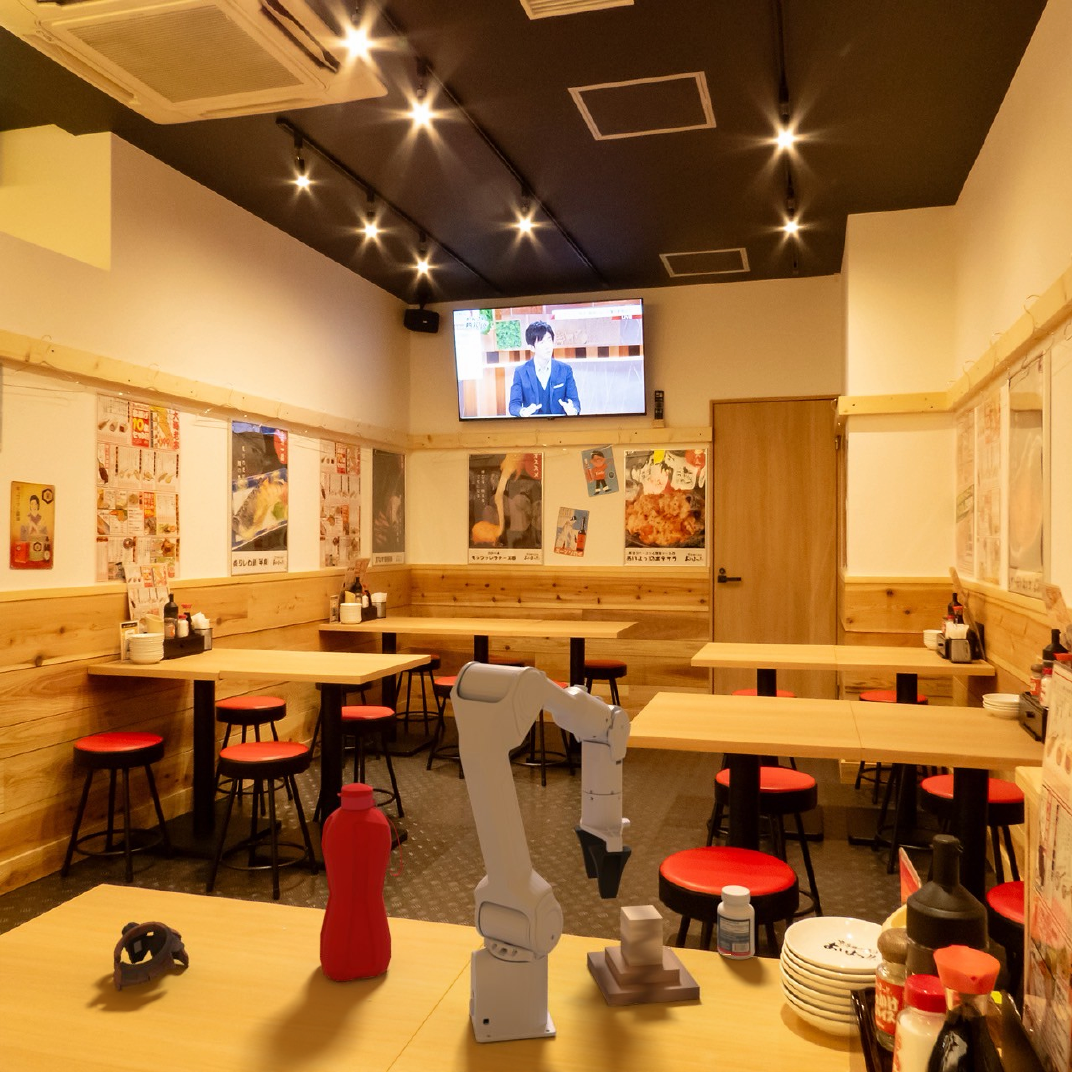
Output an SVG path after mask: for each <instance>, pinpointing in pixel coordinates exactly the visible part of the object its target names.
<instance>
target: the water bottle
mask: <svg viewBox="0 0 1072 1072" xmlns="http://www.w3.org/2000/svg"><path fill="white" fill-rule="evenodd" d="M340 788H341V792H340V793H337V796H338V797H340V798H341V799H340V802H341V804H340V807H338V808H337V809H335V810H334V811H332V812H331V814H329V816H328V817H327V818H326V820H325V822H324V824H323V826H322V827H323V829H322V835H321V836H322V837H321V843H320V844H321V850H322V855H323V859H324V866H325V871H326V881H327V886H328V893H329V894H328V899H327V902H326V908H325V910H324V911H325V912H324V916H323V920H322V924H321V929H320V933H319V961H320V965H321V969H322V973H323V974H324V975H325V976H326V977H328V979H330V980H332V981H336V982H341V983H343V982H344V983H345V982H350V981H355V980H358V979H368V978H375V977H379V976H380V975H381V974H383V973H384V972H386V971H387V970H388V969H389V965H390V962H391V959H392V936H391V931H390V926H389V921H388V916H387V910H386V904H385V898H384V893H383V892H384V885H385V879H386V874H387V868H388V869H389V873H390V874H391V875H392V876H394V877H397V876H399V875H401V872H402V869H403V855H402V849H401V844H400V840H399V835H398V833H397V829H396V827H395V825H394V823H393V822H392V821H391V820H390V819H389V818H388V816H387V814H386V812H384V811H383V810H382V809H380V808H379V806H378V804H377V802H378V800H377V798H374V788H373V786H371V785H368V784H365V783H361V782H353V783H348V784H345V785H342V787H340ZM389 822H390V823H391V824H392V826H393V828H394V831H395V834H396V837H397V841H398V845H399V853H400V859H401V860H400V861H401V862H400V869H399V872H398V873H396V874H395V873H394V874H393V873H392V871H391V864H390V863H391V862H390V861H391V859H390V857H391V851H392V833H391V831H392V830H391V826H390V824H389Z"/></svg>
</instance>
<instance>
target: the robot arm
mask: <svg viewBox="0 0 1072 1072" xmlns="http://www.w3.org/2000/svg"><path fill="white" fill-rule="evenodd" d="M588 689H589V688H588V687H587V686H585V685H579V684H574V685H573V686H568V687H566V688H563V687H562V686H560V685H559V684H557V683H556V682H554V681H553V680H552V679H550V678H549V677H547V672H546V671H543V670H539V669H537V668H536V667H533V666H524V667H522V666H521V667H520V666H510V665H502V664H501V665H500V664H490V663H481V662H479V661H470V662H468V663H465V664H464V665H463V666H462V667H461V669H460V670H459V672H458V674H457V675H456V678H455V681H454V683H453V686H452V688H451V691H450V692H449V696H450V701H451V704H452V709H453V714H454V719H455V723H456V729H457V733H458V750H459V759H460V762H461V766H462V770H463V776H464V778H465V779H464V780H465V784H466V788H467V793H468V798H469V801H470V805H471V809H472V810H471V811H472V816H473V820H474V823H475V827H476V834H477V836H478V840H479V841H478V842H479V845H480V850H481V854H482V857H483V862H484V867H485V871H486V875H485V876H484V877H483V878H482V879H481V880H480V881H478V882H479V883H478V884H477V886H476V887H475V889H474V891H473V897H474V901H475V902H474V903H475V907H474V908H475V909H474V926H475V929H476V931H477V933H478V935H479V936H480V937H482V938H483V948H481V949H476V950H472V952H471V954H470V955H471V956H470V999H469V1004H468V1005H469V1015H470V1017H471V1022H472V1028H473V1031H474V1037H475V1041H476V1042H478V1043H488V1042H500V1041H509V1040H510V1041H511V1040H521V1039H533V1038H544V1037H545V1038H546V1037H553V1036H554V1037H555V1035H556V1034H557V1030H556V1027H555V1024H554V1021H553V1019H552V1016H551V1014H550V1011H549V1009H548V1008H549V1007H548V1003H549V1002H548V999H549V997H548V996H549V993H548V992H549V991H548V990H549V983H548V982H549V976H548V975H549V954H550V953H551V952H553V950H554V949H555V948H556V947H557V945H558V944H559V941H560V940H561V936H562V933H563V929H564V914H563V908H562V906H561V904H560V903H559V902H558V901H557V899H556V897H555V895H554V891H553V887H552V886H551V884H549V882H547V881H546V880H545V878H543V877H542V876H541V875H540V874H539V873H538V872H537V871H536V870H535V869H534V868H533V865H532V861H531V855H530V852H529V846H528V843H527V837H526V833H525V832H526V831H525V828H524V823H523V818H522V814H521V809H520V804H519V800H518V799H519V798H518V796H517V795H518V794H517V790H516V785H515V781H514V776H513V771H512V766H511V762H510V757H509V753H510V751H512V750H513V749H516V748H517V747H520V746H521V744H522V743H523V741H524V740H525V738H526V736H527V735H528V733H529V731H530V729H531V728H532V726H533V725H534V723H535V721H536V719H537V718H538V716H539V714H540V712H541V711H542V710H544V711H546V712H548V713H551V717H552V720H553V722H554V724H555V725H557V726H558V727H559V728H561V729H563V730H566V731H567V732H569V733H572V734H573V736H574V739H575V740H576V741H577V743H581V817H580V819H579V825H576V826H574V827H573V830H574V832H575V834H576V836H577V839H578V840H579V844H580V847H581V852H582V858H583V863H584V869H585V872H586V873H585V874H586V876H587V878H588V880H590V879H597V888H598V892H599V896H600V898H601V899H602V900H603V899H604V900H605V899H606V900H607V899H616V898H617V897H618V892H619V889H620V884H621V879H622V875H623V872H624V868H625V867H626V865H627V862H628V861H629V859H630V857H631V855H632V848H631V847H630V846H629V845H624V846H623V836H622V834H623V830H624V828H628V827H629V828H630V827H631V821H630V820H629V818H627V817H623V759H624V758H625V757H626V754H627V745H628V744H627V743H628V741H629V738H630V733H631V727H632V726H631V725H632V724H631V723H630V721H631V720H630V717H629V714H628V713H627V711H626V710H624V709H623V708H622V707H621V706H620V705H615V704H612V705H611V704H607V703H606V702H604V698H603V697H601V696H598V695H592V694H590V693H588Z"/></svg>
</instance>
